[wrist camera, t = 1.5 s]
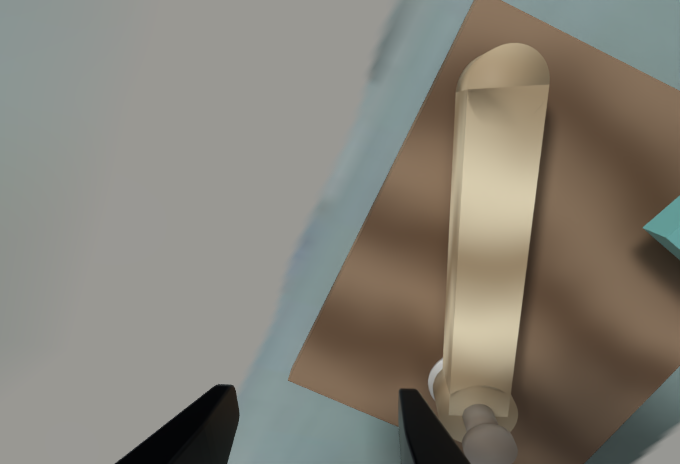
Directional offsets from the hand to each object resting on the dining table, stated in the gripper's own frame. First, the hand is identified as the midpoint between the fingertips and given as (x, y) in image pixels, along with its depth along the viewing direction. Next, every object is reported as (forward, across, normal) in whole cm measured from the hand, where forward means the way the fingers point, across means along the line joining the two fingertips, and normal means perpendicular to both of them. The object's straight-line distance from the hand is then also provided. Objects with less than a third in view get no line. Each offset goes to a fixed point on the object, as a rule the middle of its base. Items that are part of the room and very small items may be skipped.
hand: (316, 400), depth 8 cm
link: (+11, -7, +1) cm, 13 cm away
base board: (+12, -10, +3) cm, 16 cm away
